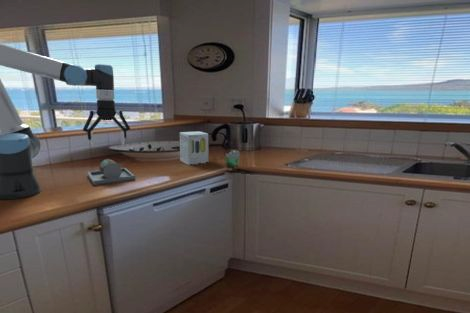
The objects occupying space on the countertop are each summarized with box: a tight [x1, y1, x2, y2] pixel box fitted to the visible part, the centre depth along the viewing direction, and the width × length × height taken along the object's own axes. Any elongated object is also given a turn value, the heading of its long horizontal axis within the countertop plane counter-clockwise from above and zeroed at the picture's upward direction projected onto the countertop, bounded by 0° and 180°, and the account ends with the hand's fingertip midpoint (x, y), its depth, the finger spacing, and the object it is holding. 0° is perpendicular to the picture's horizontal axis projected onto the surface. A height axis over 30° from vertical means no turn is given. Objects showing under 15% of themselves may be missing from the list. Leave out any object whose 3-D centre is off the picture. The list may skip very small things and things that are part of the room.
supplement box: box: [179, 130, 209, 165], centre depth 184 cm, size 13×13×18 cm
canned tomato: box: [99, 158, 122, 179], centre depth 147 cm, size 8×8×11 cm
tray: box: [86, 167, 136, 186], centre depth 148 cm, size 18×18×2 cm
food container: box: [225, 149, 241, 172], centre depth 167 cm, size 12×6×10 cm, turn 168°
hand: (108, 145), depth 145 cm, fingers open, 13 cm apart
